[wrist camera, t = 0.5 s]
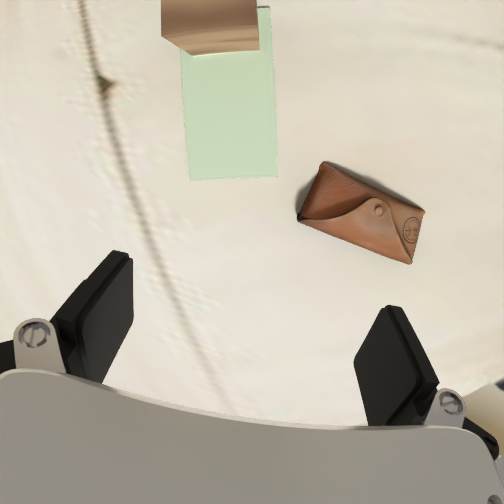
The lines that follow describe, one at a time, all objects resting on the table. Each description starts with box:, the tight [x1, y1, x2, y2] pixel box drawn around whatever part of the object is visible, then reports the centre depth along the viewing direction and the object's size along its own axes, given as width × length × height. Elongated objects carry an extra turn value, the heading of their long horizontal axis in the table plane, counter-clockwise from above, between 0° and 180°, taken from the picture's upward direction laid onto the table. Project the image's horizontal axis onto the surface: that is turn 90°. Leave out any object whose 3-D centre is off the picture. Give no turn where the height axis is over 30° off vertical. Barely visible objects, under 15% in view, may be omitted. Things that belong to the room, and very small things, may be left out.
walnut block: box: [161, 0, 260, 56], centre depth 24 cm, size 5×8×12 cm, turn 93°
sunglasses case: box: [297, 163, 425, 264], centre depth 38 cm, size 18×7×7 cm
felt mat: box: [180, 8, 278, 181], centre depth 33 cm, size 22×11×1 cm, turn 3°
